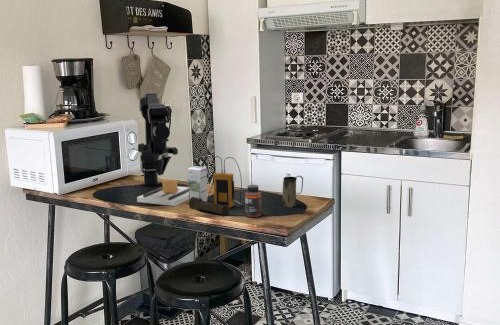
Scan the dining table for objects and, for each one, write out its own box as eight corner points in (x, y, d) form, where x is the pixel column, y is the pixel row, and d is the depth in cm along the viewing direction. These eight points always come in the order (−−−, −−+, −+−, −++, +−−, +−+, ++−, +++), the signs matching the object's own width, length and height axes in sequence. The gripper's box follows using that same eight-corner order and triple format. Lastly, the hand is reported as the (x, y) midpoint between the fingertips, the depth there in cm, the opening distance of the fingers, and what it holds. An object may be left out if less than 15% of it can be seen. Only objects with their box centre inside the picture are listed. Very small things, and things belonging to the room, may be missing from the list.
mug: (280, 206, 198) (280, 176, 195) (284, 202, 203) (284, 173, 200) (300, 208, 195) (300, 177, 193) (304, 204, 200) (304, 174, 198)
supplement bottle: (260, 213, 189) (260, 183, 187) (262, 217, 184) (262, 187, 181) (244, 213, 189) (244, 184, 187) (246, 218, 183) (245, 188, 181)
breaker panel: (166, 189, 227) (166, 182, 227) (201, 193, 220) (201, 185, 220) (137, 201, 207) (136, 194, 207) (175, 206, 200) (174, 198, 200)
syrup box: (208, 201, 207) (207, 166, 204) (200, 205, 201) (199, 169, 199) (196, 200, 209) (194, 165, 206) (188, 203, 204) (187, 168, 201)
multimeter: (248, 202, 205) (248, 153, 201) (240, 208, 195) (239, 157, 192) (215, 199, 209) (213, 151, 206) (205, 206, 200) (203, 156, 196)
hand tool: (229, 214, 189) (229, 202, 188) (222, 217, 186) (222, 204, 185) (194, 206, 201) (194, 195, 200) (187, 208, 198) (186, 196, 197)
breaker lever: (165, 190, 215) (164, 179, 214) (177, 192, 213) (177, 180, 212) (162, 191, 214) (162, 180, 213) (175, 193, 211) (174, 181, 210)
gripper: (154, 132, 214) (156, 169, 217) (127, 139, 198) (130, 178, 201) (177, 134, 210) (179, 170, 213) (152, 140, 193) (154, 180, 196)
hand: (160, 174), depth 206 cm, fingers closed
